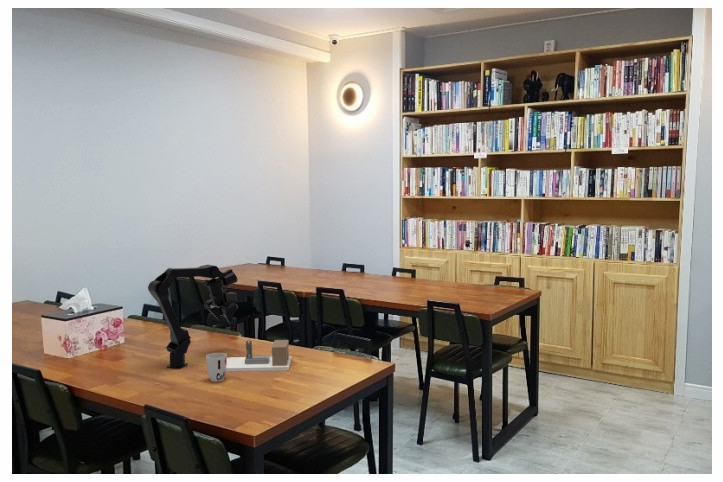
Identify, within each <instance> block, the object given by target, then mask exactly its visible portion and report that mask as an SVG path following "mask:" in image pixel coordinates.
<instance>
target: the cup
mask: <svg viewBox="0 0 723 482" xmlns="http://www.w3.org/2000/svg"><path fill="white" fill-rule="evenodd" d="M227 357H228V354H227V353H224V352H212V353H208V354H206V355H205V360H206V369H207V375H208V377H209V379H210V381H211V382H212V383H218V382H223V381H224V380H225V377H226V373H227V372H226V364H227Z"/></svg>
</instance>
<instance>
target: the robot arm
mask: <svg viewBox="0 0 723 482" xmlns="http://www.w3.org/2000/svg"><path fill="white" fill-rule="evenodd" d="M195 277H196V278H197V277H201V278H205V280H204V282H203V283H202V286H204V287H208V290H209V293H210V294H209V295H208V296H209V298H210V299H208V300H206V301H204V307H205V308H206V309H207V310H208V311H209V312H210V313H211V314H212V315H213V316H214V317H215V318H216V319H217V321H218V322H220V321H222V317H221V312H222V315H223V316H224V318H225V319H226V321H227V323H228V324H229V325H233V321H234V313H235V312H236V311H237V310H238V309H239V306H238V304H237V303H234V302H230V301H237V295H238V293H237V292H234V291H229V289H224V288H228V287H230V286H232V285H233V284H235V283H238V276H237V275H236V273H235V272H234V271H233V269H231V268H229V269H227V270H225V271H223V272H222V271H221V270H220V268H219V267H218V266H217V265H214V264H213V265H212V264H204V265H200V266H198V267H183V268H182V267H179V268H178V267H177V268H176V267H175V268H173V267H168V268H167V269H166V270H165V271H163V272H162V273H161V274H160V275H158V276H156V278H155V279H154V280H152V281H150V282H149V284H148V285H147V290H148V292H149V294H150V295H151V296H152V297H153V299H154V300H155V301H156V302H157V304H158V306H159V309H160V310H161V313H162V315H163V318H164V320H165V322H166V324H167V326H168V329H169V337H170V342H169V343H168V344H167V345H166V347H165V349H166V351H167V352H168V353H169V365H167V366H166V368H169V369H176V370H177V369H179V370H180V369H182V368H184V367H186V366H188V365H189V363H187V362H186V354H187V353H188V349H189V347H190V345H191V339H192V337H191V336H190V334H189V330H188V329H185V328H182V326H181V324H180V323H179V322H180V321H179V320H178V318H177V315H176V313H175V310H174V308H173V306H172V304H171V301H170V291H169V288H170V287H171V286H172V285H173V283H174V281H175V279H176V278H177V279H178V278H195ZM207 278H208V279H207ZM223 287H224V288H223ZM220 309H221V310H220Z"/></svg>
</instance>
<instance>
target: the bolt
mask: <svg viewBox="0 0 723 482" xmlns="http://www.w3.org/2000/svg"><path fill="white" fill-rule="evenodd" d="M252 343H253V341H252V340H246V341H245V348H246V349H245V350H246V355H245V357H246V358H245V359H269V356H265V355H253V344H252ZM269 360H270V359H269Z"/></svg>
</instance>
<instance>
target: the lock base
mask: <svg viewBox="0 0 723 482" xmlns="http://www.w3.org/2000/svg"><path fill="white" fill-rule="evenodd" d="M273 341H274V342H273V344H272V347H271V355H264V356H269V359H270V360H269V359H245V358H246V356H243V357H242V356H241V357H240V356H234V357H232V356H231V357H228V356H227V364H226V372H225V373H227V372H228V373H232V372H235V373H236V372H272V371H273V372H278V371H280V372H282V371H286V372H287V370H288V371H289V370H290V367H291V363H292V355H291V356H290V350H289V349H290V348H289V345H290V344H289V343H290V342H289V341H290V340H289V339H274V340H273Z"/></svg>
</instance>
